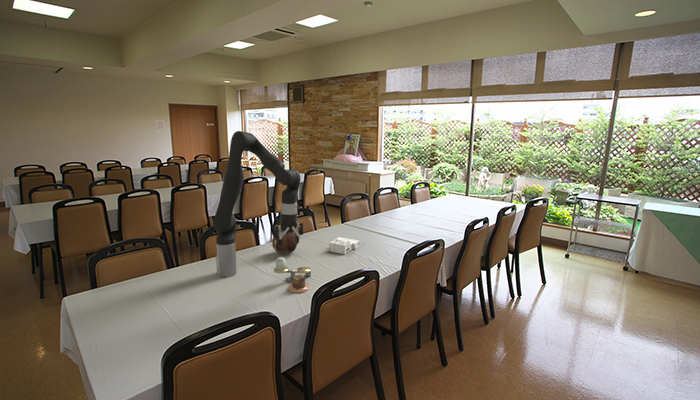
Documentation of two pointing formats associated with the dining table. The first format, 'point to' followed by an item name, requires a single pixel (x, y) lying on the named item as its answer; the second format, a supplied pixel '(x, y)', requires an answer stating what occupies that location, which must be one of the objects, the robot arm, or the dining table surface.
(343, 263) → the dining table surface
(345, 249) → the house
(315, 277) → the dining table surface
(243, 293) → the dining table surface
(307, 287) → the terracotta saucer
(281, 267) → the grey cup
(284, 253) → the wooden sphere
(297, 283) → the walnut block
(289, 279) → the balance
